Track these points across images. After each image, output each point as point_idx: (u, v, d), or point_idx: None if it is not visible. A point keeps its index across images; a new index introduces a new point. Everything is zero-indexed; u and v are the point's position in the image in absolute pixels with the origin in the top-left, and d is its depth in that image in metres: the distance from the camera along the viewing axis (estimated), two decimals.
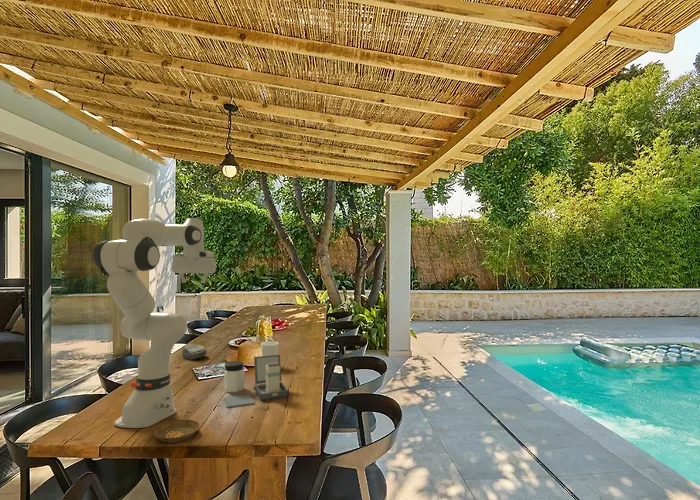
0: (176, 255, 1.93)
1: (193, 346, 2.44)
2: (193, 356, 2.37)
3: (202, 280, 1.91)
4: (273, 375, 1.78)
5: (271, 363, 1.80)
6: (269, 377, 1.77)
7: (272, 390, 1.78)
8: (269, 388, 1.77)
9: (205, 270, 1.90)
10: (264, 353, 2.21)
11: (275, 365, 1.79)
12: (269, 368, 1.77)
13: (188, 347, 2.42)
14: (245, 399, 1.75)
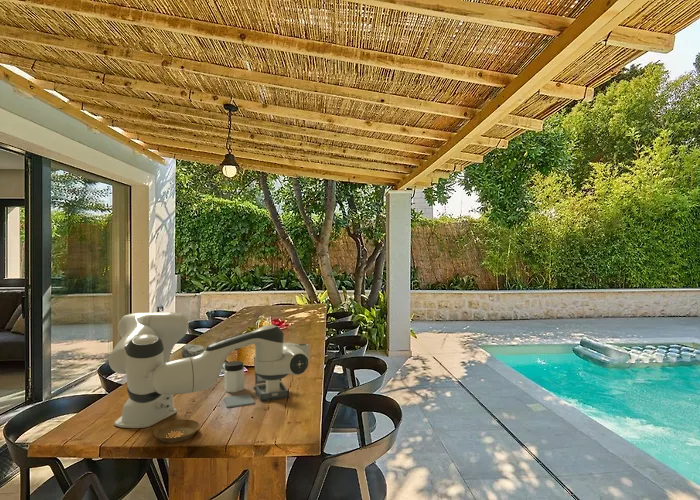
0: None
1: (193, 346, 2.44)
2: (193, 356, 2.37)
3: None
4: None
5: None
6: None
7: (272, 390, 1.78)
8: (269, 388, 1.77)
9: None
10: None
11: None
12: None
13: (188, 347, 2.42)
14: (245, 399, 1.75)
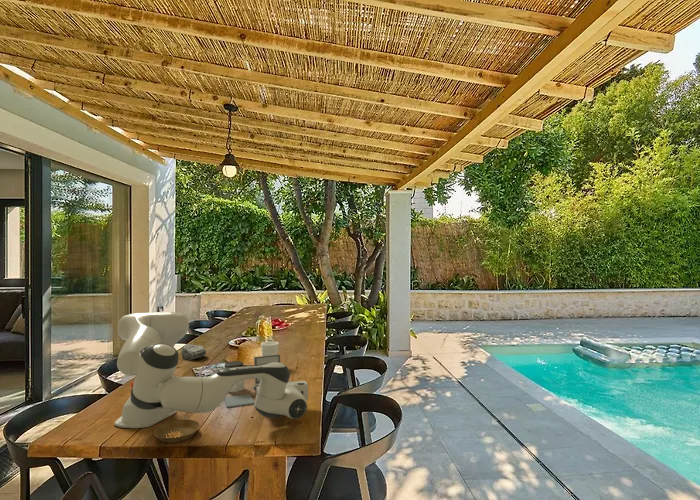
0: None
1: (192, 346, 2.43)
2: (193, 356, 2.37)
3: None
4: None
5: None
6: None
7: None
8: None
9: None
10: (264, 353, 2.21)
11: None
12: None
13: (187, 347, 2.42)
14: (245, 399, 1.75)
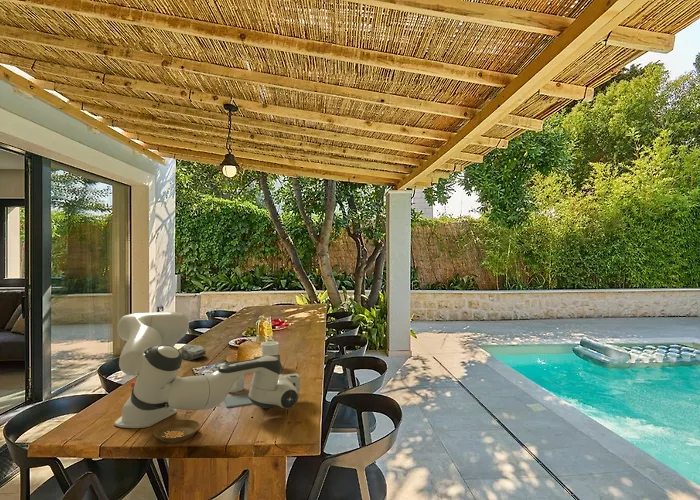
0: None
1: (192, 346, 2.43)
2: (193, 356, 2.37)
3: None
4: None
5: None
6: None
7: None
8: None
9: None
10: (264, 353, 2.21)
11: None
12: None
13: (187, 347, 2.41)
14: (245, 399, 1.75)
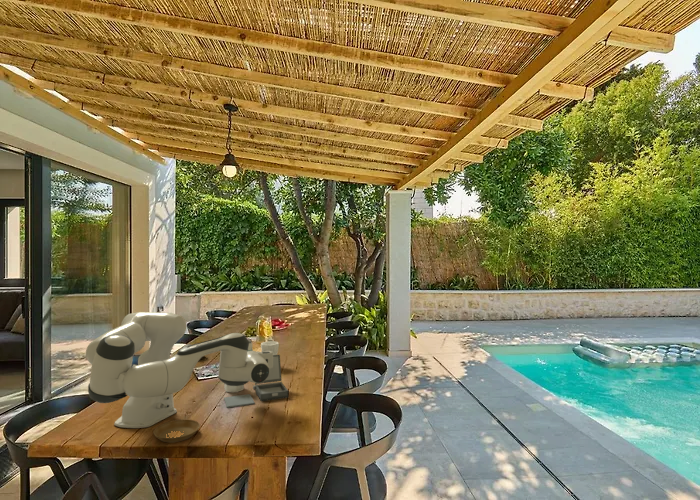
0: None
1: None
2: None
3: None
4: None
5: None
6: None
7: None
8: None
9: None
10: None
11: None
12: None
13: None
14: (245, 399, 1.75)
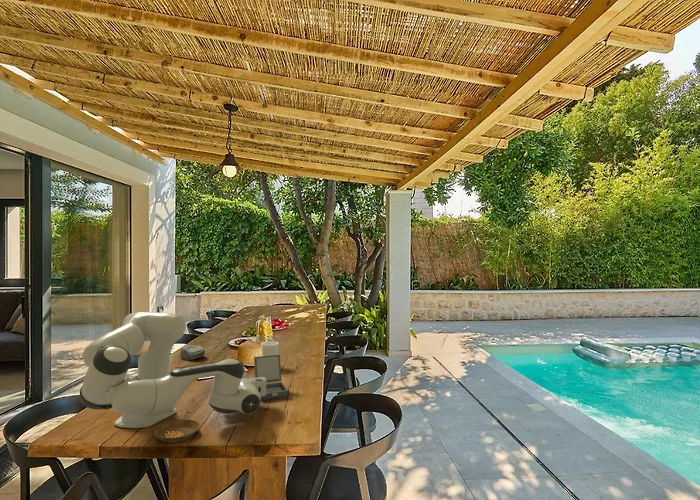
0: None
1: (191, 346, 2.43)
2: (192, 356, 2.36)
3: None
4: None
5: None
6: None
7: None
8: None
9: None
10: (264, 353, 2.21)
11: None
12: None
13: (186, 348, 2.41)
14: None
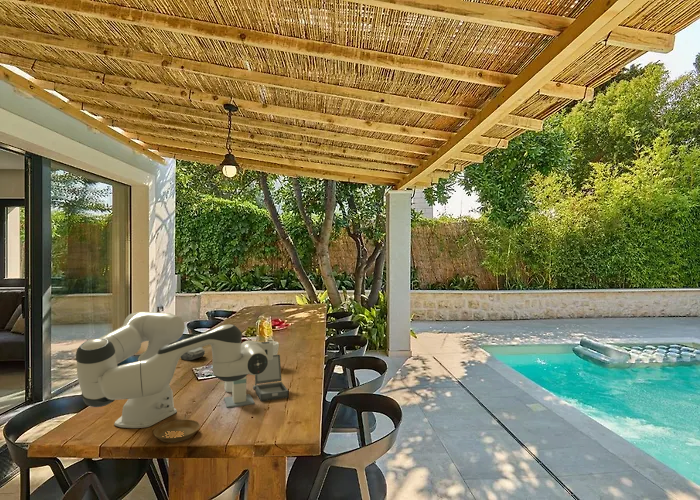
0: None
1: None
2: (192, 357, 2.36)
3: None
4: (239, 382, 1.71)
5: None
6: (235, 384, 1.71)
7: (238, 398, 1.71)
8: (235, 396, 1.71)
9: None
10: None
11: None
12: None
13: None
14: None
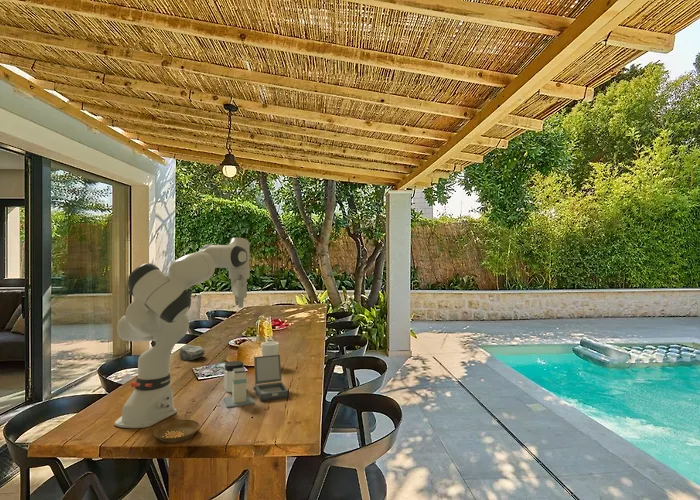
0: (243, 278, 1.74)
1: (191, 347, 2.42)
2: (192, 357, 2.36)
3: None
4: (239, 382, 1.71)
5: (237, 370, 1.73)
6: (235, 384, 1.71)
7: (238, 398, 1.71)
8: (235, 396, 1.71)
9: None
10: (264, 353, 2.21)
11: (241, 372, 1.72)
12: (235, 375, 1.71)
13: (186, 348, 2.40)
14: None
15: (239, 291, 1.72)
